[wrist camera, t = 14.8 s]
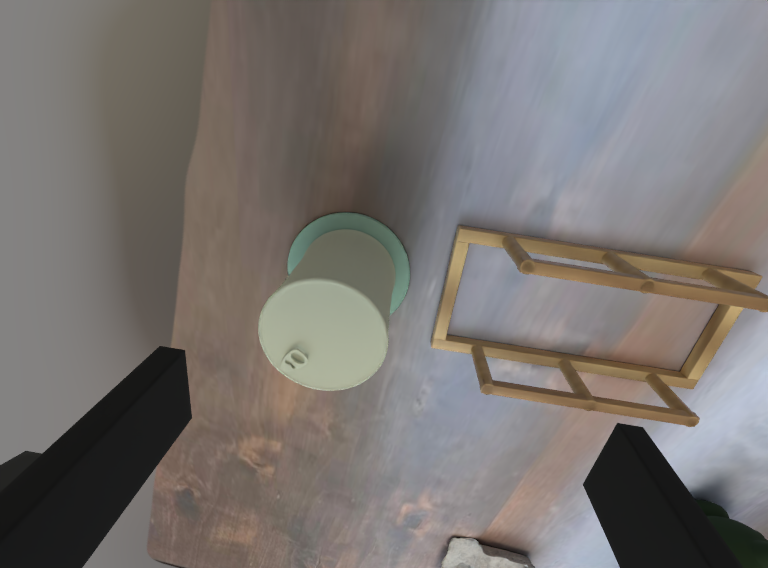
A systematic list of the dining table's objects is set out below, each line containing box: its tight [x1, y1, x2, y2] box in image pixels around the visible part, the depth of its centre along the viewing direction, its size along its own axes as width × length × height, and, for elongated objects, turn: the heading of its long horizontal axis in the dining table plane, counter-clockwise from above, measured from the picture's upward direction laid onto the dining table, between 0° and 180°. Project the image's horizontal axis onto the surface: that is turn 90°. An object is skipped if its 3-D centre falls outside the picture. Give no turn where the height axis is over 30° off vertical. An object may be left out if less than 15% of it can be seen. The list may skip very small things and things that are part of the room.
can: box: [258, 229, 396, 391], centre depth 31 cm, size 9×9×12 cm
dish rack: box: [431, 225, 768, 427], centre depth 33 cm, size 13×27×7 cm, turn 82°
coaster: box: [288, 212, 410, 315], centre depth 36 cm, size 12×12×1 cm
